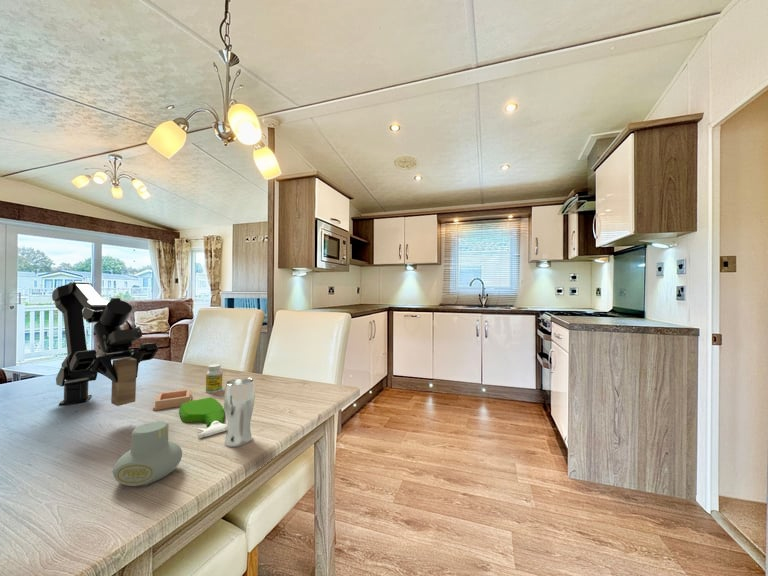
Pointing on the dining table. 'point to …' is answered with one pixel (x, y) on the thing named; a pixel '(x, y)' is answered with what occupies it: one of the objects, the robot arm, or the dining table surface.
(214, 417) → the spray bottle
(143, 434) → the air freshener
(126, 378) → the brown wooden block
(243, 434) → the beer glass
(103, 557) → the dining table surface
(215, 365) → the supplement bottle
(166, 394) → the jar dish
